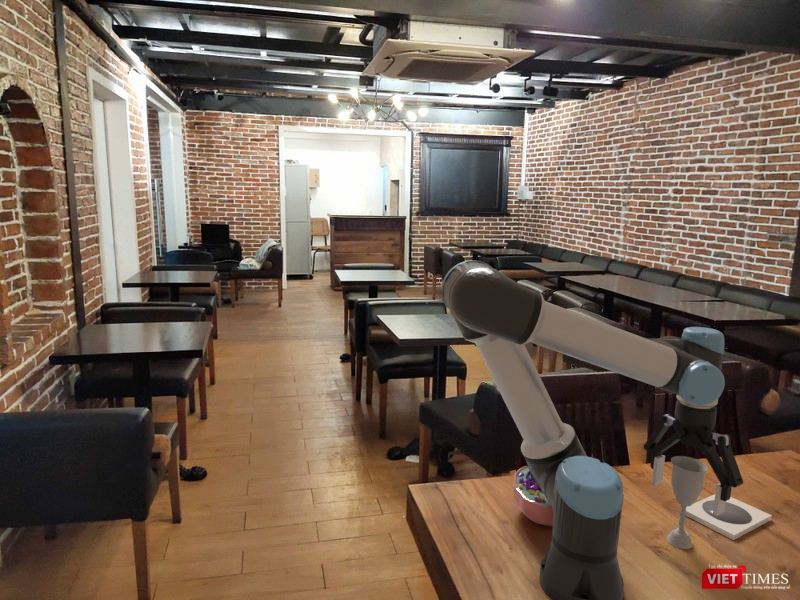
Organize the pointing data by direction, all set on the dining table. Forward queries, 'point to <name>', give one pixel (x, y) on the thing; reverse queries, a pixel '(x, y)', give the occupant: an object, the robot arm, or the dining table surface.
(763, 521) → the serving tile
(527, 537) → the dining table surface
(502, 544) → the dining table surface
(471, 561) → the dining table surface
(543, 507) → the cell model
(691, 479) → the chalice
